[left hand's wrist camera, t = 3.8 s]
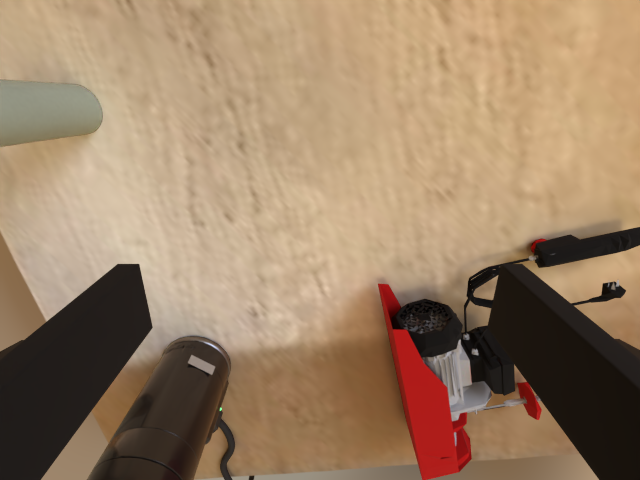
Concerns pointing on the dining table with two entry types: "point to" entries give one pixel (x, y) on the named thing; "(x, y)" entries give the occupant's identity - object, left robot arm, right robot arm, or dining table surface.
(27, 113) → the bottle
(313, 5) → the dining table surface
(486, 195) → the dining table surface
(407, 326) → the electric hoist
